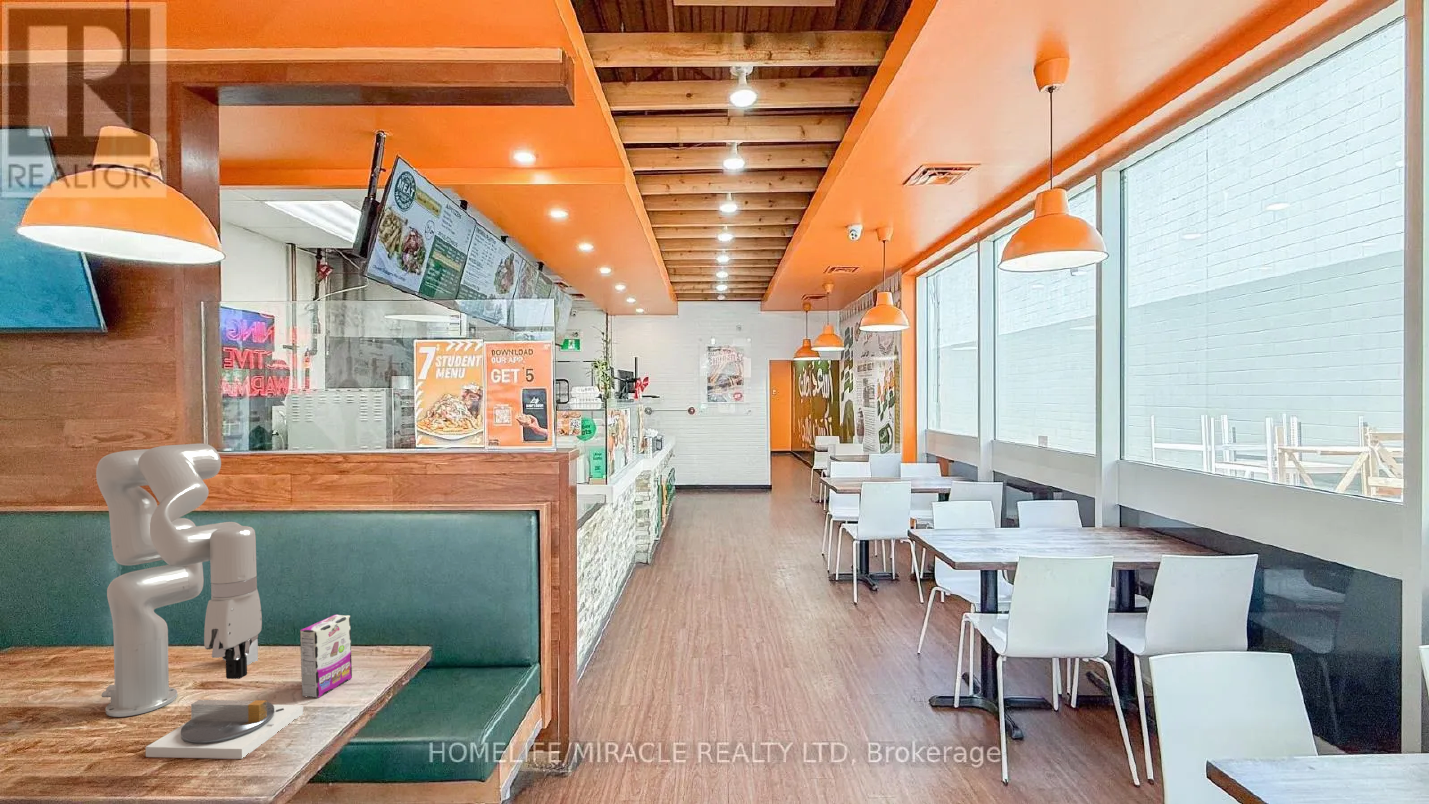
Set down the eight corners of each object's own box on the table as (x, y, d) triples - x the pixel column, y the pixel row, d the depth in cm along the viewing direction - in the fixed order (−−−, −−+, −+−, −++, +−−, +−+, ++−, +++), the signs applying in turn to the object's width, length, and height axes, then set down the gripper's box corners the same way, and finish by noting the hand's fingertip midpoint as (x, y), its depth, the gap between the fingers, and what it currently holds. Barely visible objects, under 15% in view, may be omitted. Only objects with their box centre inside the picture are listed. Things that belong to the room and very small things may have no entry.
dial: (159, 743, 130) (159, 720, 130) (223, 704, 146) (222, 684, 146) (236, 744, 129) (235, 722, 129) (291, 705, 145) (291, 685, 145)
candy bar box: (335, 677, 166) (335, 613, 165) (352, 678, 165) (351, 614, 164) (299, 697, 155) (298, 629, 154) (317, 699, 154) (316, 630, 153)
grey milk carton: (244, 666, 172) (243, 629, 172) (226, 663, 174) (225, 626, 174) (257, 661, 176) (257, 624, 175) (240, 658, 178) (239, 622, 177)
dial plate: (145, 756, 129) (145, 746, 129) (218, 712, 147) (218, 702, 147) (241, 758, 128) (241, 748, 128) (303, 713, 146) (303, 704, 146)
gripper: (244, 577, 139) (246, 662, 139) (185, 599, 124) (187, 694, 124) (278, 577, 139) (280, 662, 139) (222, 599, 124) (225, 694, 124)
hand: (236, 677), depth 132 cm, fingers closed
